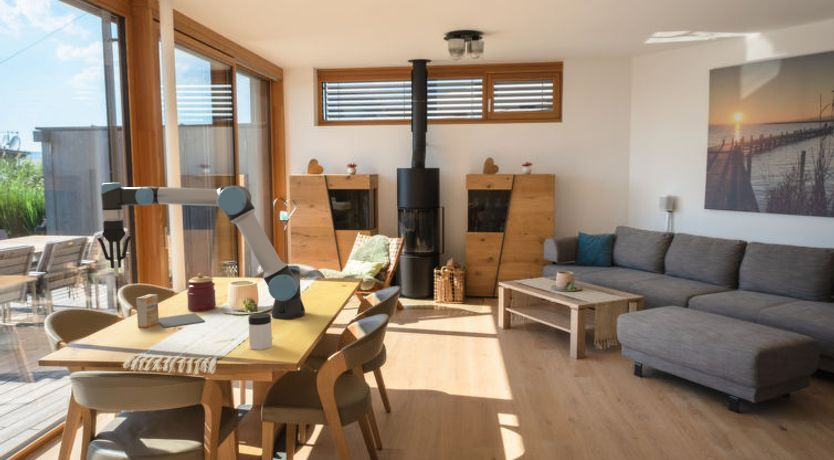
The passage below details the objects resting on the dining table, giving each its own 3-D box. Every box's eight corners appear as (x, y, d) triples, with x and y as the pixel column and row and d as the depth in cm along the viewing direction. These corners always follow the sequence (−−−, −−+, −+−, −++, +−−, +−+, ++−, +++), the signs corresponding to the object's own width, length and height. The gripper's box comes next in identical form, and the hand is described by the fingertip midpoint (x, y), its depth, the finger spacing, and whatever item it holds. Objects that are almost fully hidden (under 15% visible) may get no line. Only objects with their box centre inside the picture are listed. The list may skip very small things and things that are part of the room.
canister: (214, 304, 292) (212, 269, 291) (217, 310, 281) (215, 273, 279) (186, 307, 287) (184, 272, 285) (188, 313, 275) (186, 276, 273)
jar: (264, 341, 227) (263, 311, 226) (277, 345, 222) (276, 314, 220) (244, 347, 220) (243, 316, 219) (257, 351, 215) (255, 319, 214)
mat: (205, 321, 259) (205, 320, 258) (164, 328, 249) (163, 326, 249) (194, 314, 273) (194, 312, 273) (155, 319, 264) (155, 318, 264)
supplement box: (147, 328, 249) (145, 298, 248) (137, 327, 250) (135, 297, 249) (159, 323, 258) (157, 294, 256) (149, 322, 258) (148, 293, 257)
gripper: (129, 218, 250) (132, 273, 252) (94, 220, 243) (97, 276, 245) (131, 219, 244) (134, 275, 246) (96, 221, 236) (99, 278, 239)
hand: (116, 275), depth 245 cm, fingers closed
